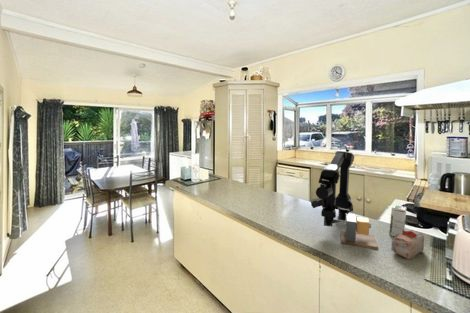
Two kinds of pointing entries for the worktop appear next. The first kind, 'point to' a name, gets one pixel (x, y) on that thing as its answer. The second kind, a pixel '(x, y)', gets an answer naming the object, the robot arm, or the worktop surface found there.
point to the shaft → (339, 222)
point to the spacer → (362, 225)
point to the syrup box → (397, 220)
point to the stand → (356, 235)
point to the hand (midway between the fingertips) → (328, 224)
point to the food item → (408, 244)
